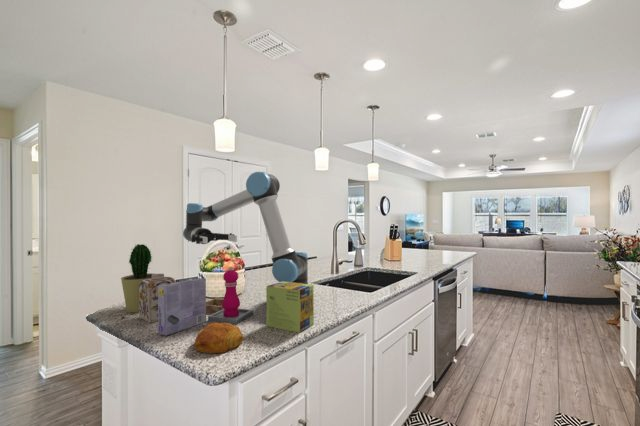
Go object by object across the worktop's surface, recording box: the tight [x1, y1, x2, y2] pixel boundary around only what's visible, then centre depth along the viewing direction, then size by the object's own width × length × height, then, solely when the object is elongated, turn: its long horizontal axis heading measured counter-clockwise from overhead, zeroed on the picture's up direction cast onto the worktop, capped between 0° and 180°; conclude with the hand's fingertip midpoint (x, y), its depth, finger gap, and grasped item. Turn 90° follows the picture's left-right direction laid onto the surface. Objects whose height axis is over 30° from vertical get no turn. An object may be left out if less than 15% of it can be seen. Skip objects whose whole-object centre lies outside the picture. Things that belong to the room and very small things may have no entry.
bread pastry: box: [193, 322, 244, 354], centre depth 108 cm, size 14×16×8 cm
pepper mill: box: [222, 266, 241, 317], centre depth 136 cm, size 7×7×20 cm
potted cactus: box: [120, 243, 154, 313], centre depth 150 cm, size 15×15×30 cm
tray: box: [207, 307, 254, 325], centre depth 136 cm, size 13×13×2 cm
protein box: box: [265, 281, 315, 334], centre depth 127 cm, size 10×15×16 cm
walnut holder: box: [206, 297, 224, 314], centre depth 149 cm, size 11×11×3 cm
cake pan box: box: [157, 277, 207, 337], centre depth 125 cm, size 19×5×18 cm, turn 149°
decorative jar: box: [138, 273, 176, 324], centre depth 138 cm, size 12×12×18 cm
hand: (221, 239), depth 144 cm, fingers open, 13 cm apart
